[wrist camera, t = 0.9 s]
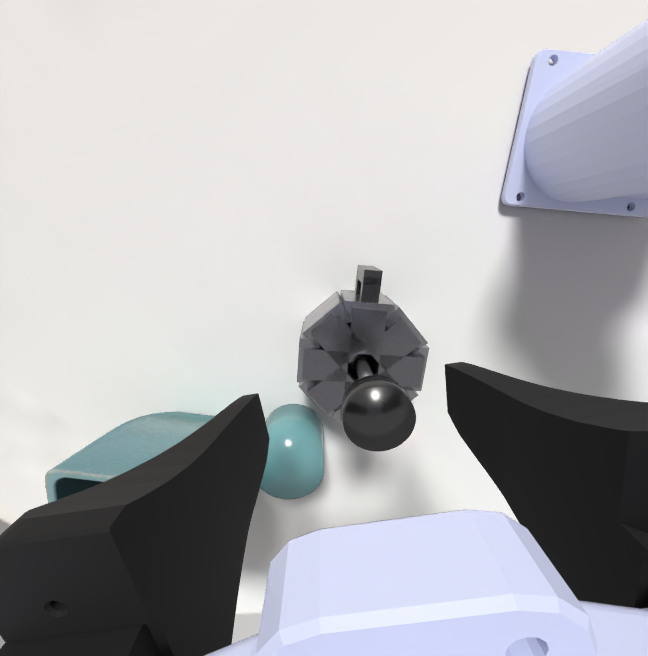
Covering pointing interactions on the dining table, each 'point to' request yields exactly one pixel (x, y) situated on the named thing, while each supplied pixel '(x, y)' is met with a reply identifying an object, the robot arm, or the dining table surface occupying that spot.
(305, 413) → the teal rounded part
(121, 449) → the flower pot
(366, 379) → the plunger
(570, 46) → the dining table surface
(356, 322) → the press pot
